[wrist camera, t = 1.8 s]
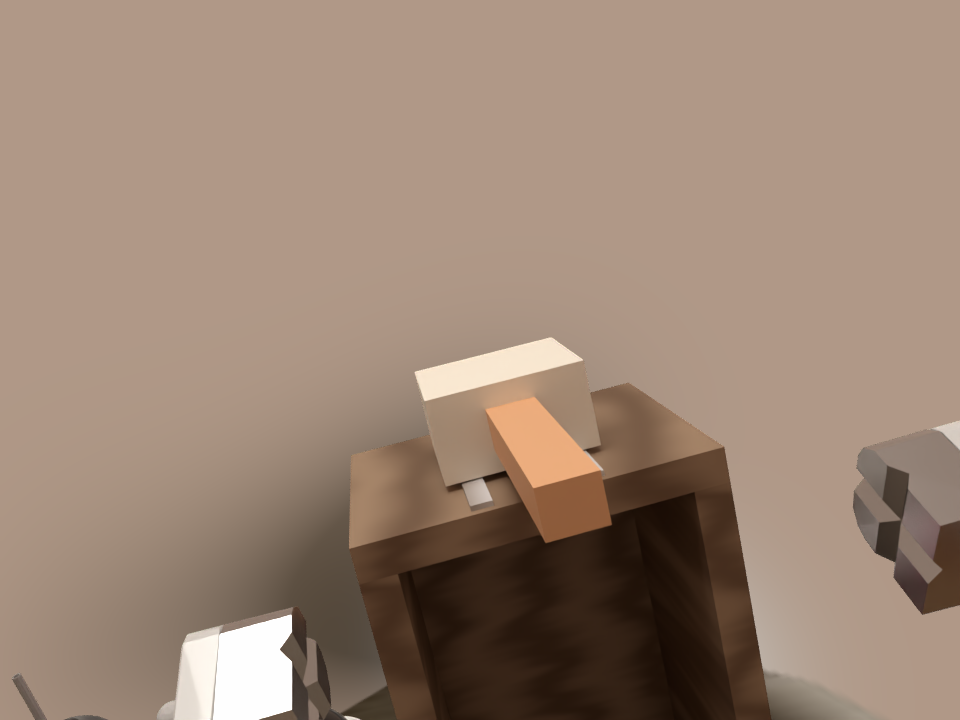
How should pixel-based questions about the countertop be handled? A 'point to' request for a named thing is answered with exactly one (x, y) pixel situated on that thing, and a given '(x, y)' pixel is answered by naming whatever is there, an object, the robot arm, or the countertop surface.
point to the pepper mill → (166, 711)
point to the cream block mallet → (521, 431)
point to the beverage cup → (33, 704)
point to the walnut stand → (561, 584)
